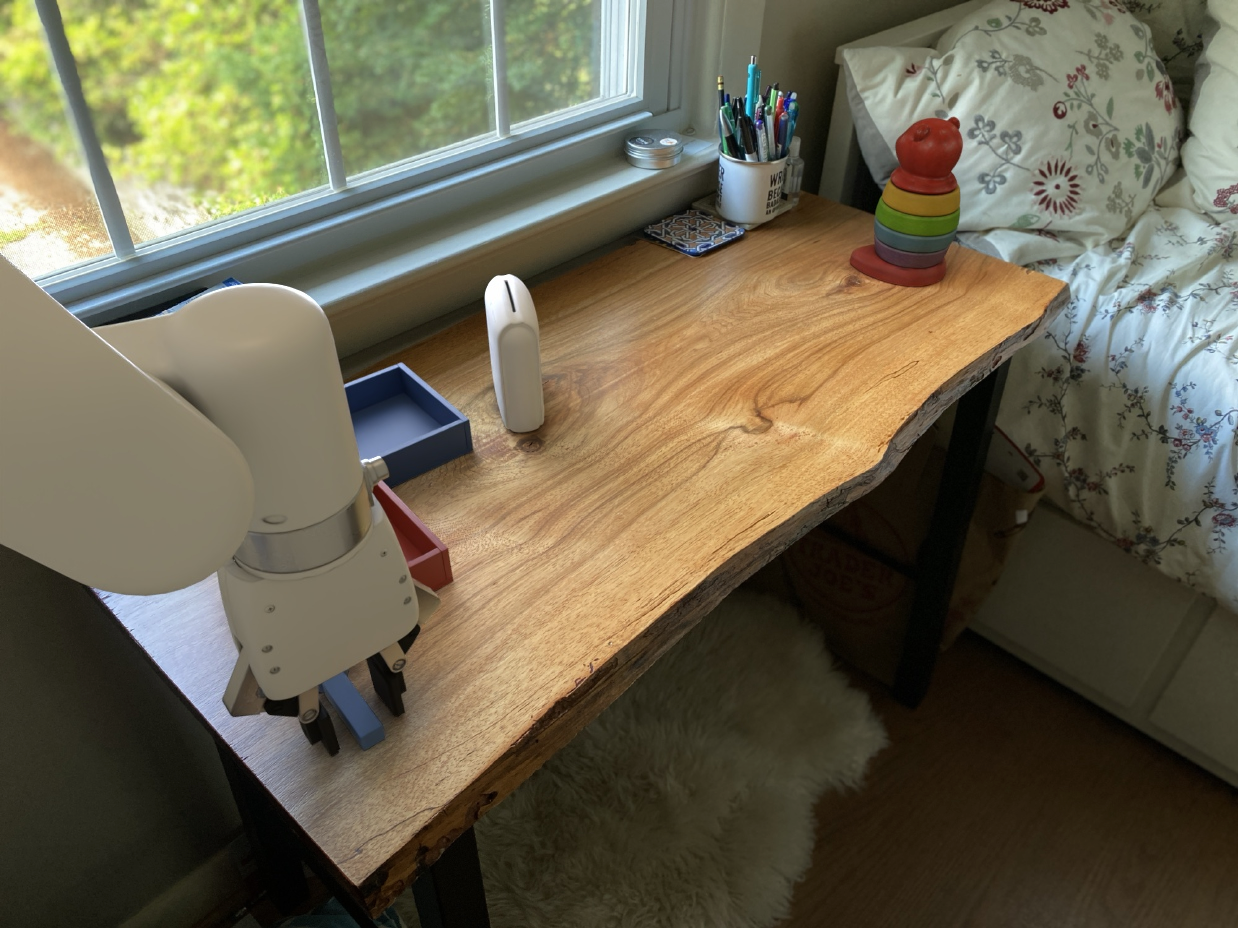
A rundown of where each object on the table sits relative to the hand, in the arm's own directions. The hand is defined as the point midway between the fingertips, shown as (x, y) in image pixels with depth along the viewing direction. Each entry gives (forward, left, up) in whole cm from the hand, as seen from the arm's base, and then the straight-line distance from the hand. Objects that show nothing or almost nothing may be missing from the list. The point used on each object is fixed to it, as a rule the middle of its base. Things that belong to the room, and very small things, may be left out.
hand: (358, 718), depth 61 cm
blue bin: (+16, +26, 0) cm, 31 cm away
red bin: (+6, +13, 0) cm, 15 cm away
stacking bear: (+81, +18, 0) cm, 83 cm away
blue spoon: (0, +2, 0) cm, 2 cm away
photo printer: (+29, +24, 0) cm, 37 cm away
